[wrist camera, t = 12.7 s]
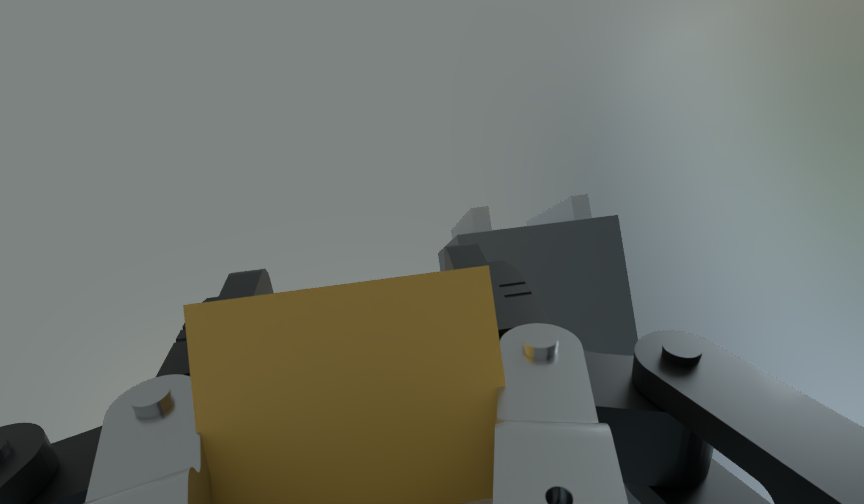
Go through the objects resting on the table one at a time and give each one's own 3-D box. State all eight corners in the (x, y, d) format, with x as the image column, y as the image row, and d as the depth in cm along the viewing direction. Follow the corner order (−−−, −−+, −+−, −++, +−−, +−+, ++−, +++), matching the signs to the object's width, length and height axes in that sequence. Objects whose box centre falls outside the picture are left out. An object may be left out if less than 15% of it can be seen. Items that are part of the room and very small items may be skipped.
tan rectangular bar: (520, 492, 7) (489, 265, 7) (207, 546, 7) (183, 304, 7) (426, 349, 26) (418, 287, 26) (344, 360, 25) (337, 298, 26)
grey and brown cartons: (717, 836, 27) (613, 188, 29) (362, 918, 25) (284, 227, 28) (617, 669, 39) (549, 219, 41) (371, 718, 37) (317, 248, 40)
